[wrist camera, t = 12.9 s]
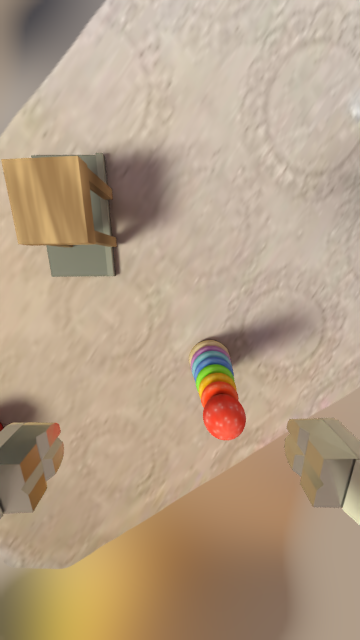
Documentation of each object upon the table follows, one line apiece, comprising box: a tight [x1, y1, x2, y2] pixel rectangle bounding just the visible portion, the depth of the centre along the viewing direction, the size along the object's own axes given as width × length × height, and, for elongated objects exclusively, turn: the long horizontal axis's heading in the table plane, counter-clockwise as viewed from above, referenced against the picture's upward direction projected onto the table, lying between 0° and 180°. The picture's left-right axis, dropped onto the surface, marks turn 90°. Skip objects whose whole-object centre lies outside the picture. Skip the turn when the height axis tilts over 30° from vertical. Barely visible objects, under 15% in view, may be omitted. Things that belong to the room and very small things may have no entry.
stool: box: [1, 156, 117, 247], centre depth 29 cm, size 10×9×9 cm
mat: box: [31, 153, 115, 277], centre depth 33 cm, size 11×18×1 cm, turn 0°
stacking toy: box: [189, 340, 246, 440], centre depth 32 cm, size 8×8×19 cm
